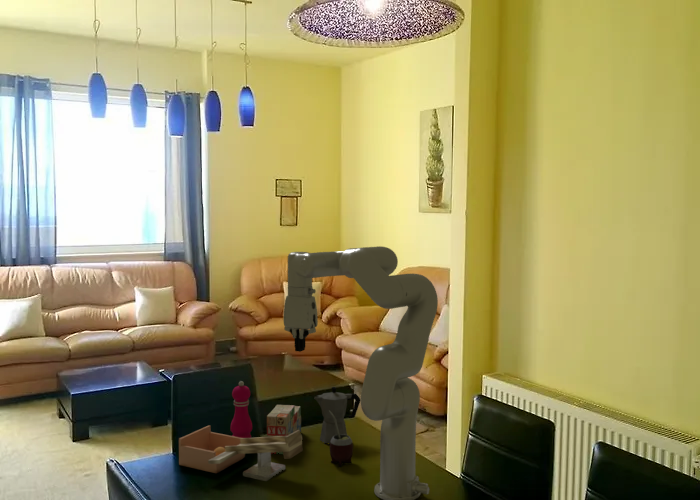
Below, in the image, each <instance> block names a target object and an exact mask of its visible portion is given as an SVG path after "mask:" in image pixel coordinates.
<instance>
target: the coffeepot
mask: <svg viewBox="0 0 700 500" xmlns="http://www.w3.org/2000/svg"><path fill="white" fill-rule="evenodd" d="M313 399H314V400H316V402H317V404H318V405H319V407H320V409H321V414H322V416H323V421H322V426H321V431H320V435H319V436H320V437H319V441H320V442H321V441H322V442H321V443H323V442H324V443H323V444H325V443H329V444H330V441H331V439H332V437H333V436H335V435H338V433H337V429H336V425H335V422H334V418H333V417H332V415H331V414H330V412H329V410H330V411H331V412H332V414H333V415H334V416H335V418H336V420H337V426H338V430H339V434H343V435H348V433H347V427H346V421H345V418H344V417H345V416H346V414H347V413H346V411H347V406H348V401H351V400H355V401H354V403H353V408H352V410H351V411H352V412H351V414H350V415H347V416H348V418H349V419H355V417H356V414H357V412H358V410H359V409H358V408H359V406H360V404H361V397H359V395H357V393H344V392H337V387H336V386H332V387H331V392H324V393H322V394H318V395H316V396H314V398H313ZM329 444H328V445H329Z"/></svg>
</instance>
